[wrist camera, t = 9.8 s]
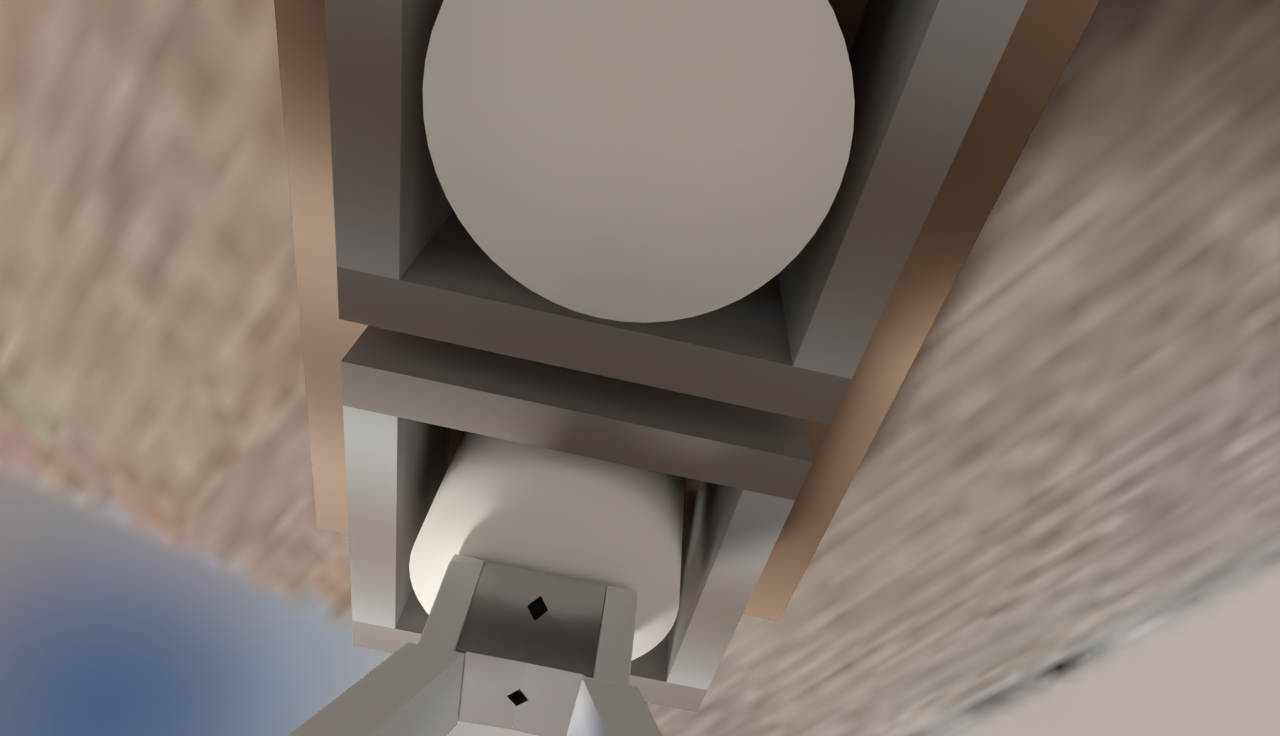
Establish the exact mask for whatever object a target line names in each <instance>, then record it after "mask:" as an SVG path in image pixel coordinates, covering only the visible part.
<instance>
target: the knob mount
mask: <svg viewBox="0 0 1280 736" xmlns="http://www.w3.org/2000/svg"><path fill="white" fill-rule="evenodd" d="M443 1H444V0H274V5H275V17H276V29H277V41H278V54H279V66H280V78H281V91H282V103H283V115H284V127H285V140H286V152H287V164H288V177H289V189H290V201H291V213H292V226H293V238H294V250H295V263H296V275H297V287H298V299H299V312H300V324H301V336H302V349H303V361H304V373H305V385H306V398H307V410H308V422H309V435H310V447H311V459H312V472H313V484H314V496H315V508H316V521H317V528H319V529H324V530H329V531H334V532H339V533H344V534H348V535H349V554H350V576H351V599H352V621H353V643H354V645H355V646H360V647H365V648H370V649H375V650H380V651H385V652H390V653H395V652H396V651H398V650H399V649H400V648H402V647H403V646H404V645H405V644H407V643H408V642H412V643H418V642H419V640H420V637H421V635H422V632H423V629H424V627H425V624H426V622H427V619H428V616H429V615H428V613H427V612H426V611H425V610H424V608H423V607H422V605H421V603H420V602H419V600H418V598H417V596H416V594H415V592H414V590H413V587H412V583H411V579H410V571H409V562H410V555H411V551H412V549H413V546H414V543H415V541H416V538H417V536H418V534H419V532H420V530H421V527H422V525H423V523H424V521H425V518H426V516H427V514H428V512H429V509H430V507H431V505H432V503H433V500H434V498H435V496H436V494H437V492H438V489H439V487H440V485H441V483H442V480H443V478H444V476H445V474H446V471H447V469H448V467H449V465H450V462H451V460H452V458H453V456H454V454H455V451H456V449H457V447H458V445H459V442H460V440H461V438H462V436H463V433H464V431H466V432H471V433H476V434H481V435H485V436H490V437H495V438H500V439H504V440H509V441H514V442H519V443H523V444H528V445H533V446H538V447H542V448H547V449H552V450H557V451H562V452H566V453H571V454H576V455H581V456H585V457H590V458H595V459H600V460H604V461H609V462H614V463H619V464H623V465H628V466H633V467H638V468H642V469H647V470H652V471H657V472H661V473H666V474H671V475H676V476H681V477H685V488H684V510H683V532H682V554H681V576H680V598H679V610H678V613H677V617H676V620H675V622H674V624H673V626H672V628H671V630H670V631H669V632H668V634H667V635H666V636H665V638H664V639H663V640H662V641H661V642H660V643H659V644H658V645H656V646H655V647H654V648H653V649H651V650H650V651H648V652H647V653H646V654H644V655H642V656H640V657H638V658H636V659H634V660H632V661H631V670H630V680H629V685H631V686H636V687H638V688H639V690H640V692H641V694H642V696H643V698H644V700H645V702H647V703H652V704H657V705H663V706H668V707H673V708H678V709H683V710H688V711H693V712H697V711H698V709H699V707H700V705H701V702H702V700H703V698H704V696H705V694H706V692H707V690H708V687H709V685H710V683H711V681H712V679H713V677H714V674H715V672H716V670H717V668H718V666H719V664H720V662H721V659H722V657H723V655H724V653H725V651H726V649H727V646H728V644H729V642H730V640H731V638H732V636H733V634H734V631H735V629H736V627H737V625H738V623H739V621H740V618H741V616H742V614H745V615H750V616H755V617H760V618H765V619H770V620H775V621H780V619H781V617H782V615H783V613H784V611H785V609H786V607H787V605H788V603H789V601H790V599H791V597H792V595H793V593H794V591H795V590H796V588H797V586H798V584H799V582H800V580H801V578H802V576H803V574H804V572H805V570H806V568H807V566H808V564H809V562H810V561H811V559H812V557H813V555H814V553H815V551H816V549H817V547H818V545H819V543H820V541H821V539H822V537H823V535H824V533H825V532H826V530H827V528H828V526H829V524H830V522H831V520H832V518H833V516H834V514H835V512H836V510H837V508H838V506H839V504H840V502H841V501H842V499H843V497H844V495H845V493H846V491H847V489H848V487H849V485H850V483H851V481H852V479H853V477H854V475H855V473H856V472H857V470H858V468H859V466H860V464H861V462H862V460H863V458H864V456H865V454H866V452H867V450H868V448H869V446H870V444H871V442H872V441H873V439H874V437H875V435H876V433H877V431H878V429H879V427H880V425H881V423H882V421H883V419H884V417H885V415H886V413H887V412H888V410H889V408H890V406H891V404H892V402H893V400H894V398H895V396H896V394H897V392H898V390H899V388H900V386H901V384H902V383H903V381H904V379H905V377H906V375H907V373H908V371H909V369H910V367H911V365H912V363H913V361H914V359H915V357H916V355H917V353H918V352H919V350H920V348H921V346H922V344H923V342H924V340H925V338H926V336H927V334H928V332H929V330H930V328H931V326H932V324H933V323H934V321H935V319H936V317H937V315H938V313H939V311H940V309H941V307H942V305H943V303H944V301H945V299H946V297H947V295H948V294H949V292H950V290H951V288H952V286H953V284H954V282H955V280H956V278H957V276H958V274H959V272H960V270H961V268H962V266H963V264H964V263H965V261H966V259H967V257H968V255H969V253H970V251H971V249H972V247H973V245H974V243H975V241H976V239H977V237H978V235H979V234H980V232H981V230H982V228H983V226H984V224H985V222H986V220H987V218H988V216H989V214H990V212H991V210H992V208H993V206H994V205H995V203H996V201H997V199H998V197H999V195H1000V193H1001V191H1002V189H1003V187H1004V185H1005V183H1006V181H1007V179H1008V177H1009V175H1010V174H1011V172H1012V170H1013V168H1014V166H1015V164H1016V162H1017V160H1018V158H1019V156H1020V154H1021V152H1022V150H1023V148H1024V146H1025V145H1026V143H1027V141H1028V139H1029V137H1030V135H1031V133H1032V131H1033V129H1034V127H1035V125H1036V123H1037V121H1038V119H1039V117H1040V116H1041V114H1042V112H1043V110H1044V108H1045V106H1046V104H1047V102H1048V100H1049V98H1050V96H1051V94H1052V92H1053V90H1054V88H1055V86H1056V85H1057V83H1058V81H1059V79H1060V77H1061V75H1062V73H1063V71H1064V69H1065V67H1066V65H1067V63H1068V61H1069V59H1070V57H1071V56H1072V54H1073V52H1074V50H1075V48H1076V46H1077V44H1078V42H1079V40H1080V38H1081V36H1082V34H1083V32H1084V30H1085V28H1086V26H1087V25H1088V23H1089V21H1090V19H1091V17H1092V15H1093V13H1094V11H1095V9H1096V7H1097V5H1098V3H1099V1H1100V0H828V2H829V3H830V5H831V7H832V9H833V11H834V13H835V16H836V19H837V21H838V24H839V26H840V29H841V32H842V34H843V37H844V40H845V43H846V48H847V52H848V56H849V61H850V65H851V69H852V78H853V89H854V100H855V104H854V130H853V136H852V142H851V148H850V154H849V159H848V163H847V166H846V169H845V172H844V176H843V179H842V182H841V185H840V188H839V190H838V192H837V194H836V197H835V199H834V201H833V203H832V205H831V208H830V210H829V212H828V213H827V215H826V217H825V218H824V220H823V222H822V223H821V225H820V226H819V228H818V230H817V231H816V233H815V234H814V236H813V237H812V238H811V239H810V241H809V242H808V243H807V244H806V246H805V247H804V248H803V249H802V251H801V252H800V253H799V254H798V255H797V256H796V257H795V258H794V259H793V260H792V261H791V262H790V263H789V264H788V265H787V266H786V267H785V268H784V269H783V270H782V271H781V272H780V273H778V274H777V275H776V276H775V277H773V278H772V279H771V280H769V281H768V282H767V283H765V284H764V285H763V286H761V287H760V288H758V289H757V290H755V291H753V292H752V293H750V294H748V295H746V296H745V297H743V298H741V299H740V300H738V301H735V302H733V303H731V304H729V305H726V306H724V307H722V308H719V309H717V310H714V311H711V312H708V313H704V314H701V315H698V316H694V317H690V318H684V319H679V320H673V321H664V322H649V323H642V322H622V321H615V320H609V319H603V318H598V317H594V316H590V315H587V314H583V313H580V312H576V311H573V310H571V309H568V308H566V307H563V306H561V305H558V304H556V303H553V302H551V301H550V300H548V299H546V298H544V297H542V296H540V295H538V294H537V293H535V292H533V291H531V290H530V289H528V288H527V287H525V286H524V285H522V284H521V283H519V282H518V281H517V280H515V279H514V278H512V277H511V276H510V275H509V274H507V273H506V272H505V271H504V270H503V269H502V268H500V267H499V266H498V265H497V264H496V263H495V262H494V261H492V260H491V259H490V257H489V256H488V255H487V254H486V253H485V252H484V251H483V250H482V249H481V248H480V247H479V245H478V244H477V243H476V242H475V241H474V240H473V238H472V237H471V236H470V234H469V233H468V231H467V230H466V229H465V227H464V226H463V225H462V223H461V222H460V221H459V219H458V217H457V215H456V214H455V212H454V210H453V208H452V207H451V205H450V203H449V201H448V199H447V198H446V196H445V193H444V191H443V188H442V186H441V184H440V181H439V179H438V177H437V174H436V172H435V168H434V165H433V161H432V158H431V154H430V151H429V147H428V143H427V136H426V130H425V124H424V118H423V78H424V68H425V59H426V55H427V50H428V46H429V41H430V37H431V33H432V29H433V27H434V24H435V21H436V19H437V16H438V14H439V11H440V8H441V6H442V3H443Z"/></svg>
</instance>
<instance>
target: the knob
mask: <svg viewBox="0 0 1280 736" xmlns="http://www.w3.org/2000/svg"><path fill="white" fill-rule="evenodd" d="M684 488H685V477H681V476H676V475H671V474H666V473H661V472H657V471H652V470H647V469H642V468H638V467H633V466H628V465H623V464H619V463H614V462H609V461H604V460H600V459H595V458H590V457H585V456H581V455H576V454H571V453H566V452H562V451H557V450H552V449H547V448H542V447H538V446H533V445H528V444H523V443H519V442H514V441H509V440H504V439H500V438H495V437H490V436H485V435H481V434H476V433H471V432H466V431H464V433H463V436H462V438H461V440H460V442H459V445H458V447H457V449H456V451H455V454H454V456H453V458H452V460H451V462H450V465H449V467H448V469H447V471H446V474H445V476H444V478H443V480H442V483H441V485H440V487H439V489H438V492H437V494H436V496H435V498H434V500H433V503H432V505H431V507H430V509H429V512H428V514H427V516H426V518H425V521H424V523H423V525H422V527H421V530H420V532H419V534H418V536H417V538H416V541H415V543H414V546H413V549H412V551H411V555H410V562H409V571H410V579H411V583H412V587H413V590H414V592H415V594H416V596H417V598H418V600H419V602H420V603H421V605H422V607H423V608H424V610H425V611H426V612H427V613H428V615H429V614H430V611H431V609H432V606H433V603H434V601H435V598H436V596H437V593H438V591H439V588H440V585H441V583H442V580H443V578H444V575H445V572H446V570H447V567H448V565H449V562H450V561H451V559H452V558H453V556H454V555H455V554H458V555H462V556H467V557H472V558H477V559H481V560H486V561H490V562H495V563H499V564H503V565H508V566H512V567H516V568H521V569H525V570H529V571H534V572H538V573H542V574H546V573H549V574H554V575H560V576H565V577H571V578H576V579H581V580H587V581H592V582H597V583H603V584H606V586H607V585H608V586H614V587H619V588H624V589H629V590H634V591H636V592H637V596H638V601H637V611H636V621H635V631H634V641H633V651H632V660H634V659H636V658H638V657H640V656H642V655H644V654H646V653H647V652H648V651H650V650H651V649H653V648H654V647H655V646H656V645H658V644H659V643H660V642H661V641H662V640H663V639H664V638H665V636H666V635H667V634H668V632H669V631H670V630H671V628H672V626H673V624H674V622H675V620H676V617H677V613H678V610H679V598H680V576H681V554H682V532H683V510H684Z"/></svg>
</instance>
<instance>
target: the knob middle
mask: <svg viewBox="0 0 1280 736" xmlns="http://www.w3.org/2000/svg"><path fill="white" fill-rule="evenodd" d="M854 104H855V100H854V89H853V78H852V69H851V65H850V61H849V56H848V52H847V48H846V43H845V40H844V37H843V34H842V32H841V29H840V26H839V24H838V21H837V19H836V16H835V13H834V11H833V9H832V7H831V5H830V3H829V2H828V0H444V1H443V3H442V6H441V8H440V11H439V14H438V16H437V19H436V21H435V24H434V27H433V29H432V33H431V37H430V41H429V46H428V50H427V55H426V59H425V68H424V78H423V118H424V124H425V130H426V136H427V143H428V147H429V151H430V154H431V158H432V161H433V165H434V168H435V172H436V174H437V177H438V179H439V181H440V184H441V186H442V188H443V191H444V193H445V196H446V198H447V199H448V201H449V203H450V205H451V207H452V208H453V210H454V212H455V214H456V215H457V217H458V219H459V221H460V222H461V223H462V225H463V226H464V227H465V229H466V230H467V231H468V233H469V234H470V236H471V237H472V238H473V240H474V241H475V242H476V243H477V244H478V245H479V247H480V248H481V249H482V250H483V251H484V252H485V253H486V254H487V255H488V256H489V257H490V259H491V260H492V261H494V262H495V263H496V264H497V265H498V266H499V267H500V268H502V269H503V270H504V271H505V272H506V273H507V274H509V275H510V276H511V277H512V278H514V279H515V280H517V281H518V282H519V283H521V284H522V285H524V286H525V287H527V288H528V289H530V290H531V291H533V292H535V293H537V294H538V295H540V296H542V297H544V298H546V299H548V300H550V301H551V302H553V303H556V304H558V305H561V306H563V307H566V308H568V309H571V310H573V311H576V312H580V313H583V314H587V315H590V316H594V317H598V318H603V319H609V320H615V321H622V322H642V323H649V322H664V321H673V320H679V319H684V318H690V317H694V316H698V315H701V314H704V313H708V312H711V311H714V310H717V309H719V308H722V307H724V306H726V305H729V304H731V303H733V302H735V301H738V300H740V299H741V298H743V297H745V296H746V295H748V294H750V293H752V292H753V291H755V290H757V289H758V288H760V287H761V286H763V285H764V284H765V283H767V282H768V281H769V280H771V279H772V278H773V277H775V276H776V275H777V274H778V273H780V272H781V271H782V270H783V269H784V268H785V267H786V266H787V265H788V264H789V263H790V262H791V261H792V260H793V259H794V258H795V257H796V256H797V255H798V254H799V253H800V252H801V251H802V249H803V248H804V247H805V246H806V244H807V243H808V242H809V241H810V239H811V238H812V237H813V236H814V234H815V233H816V231H817V230H818V228H819V226H820V225H821V223H822V222H823V220H824V218H825V217H826V215H827V213H828V212H829V210H830V208H831V205H832V203H833V201H834V199H835V197H836V194H837V192H838V190H839V188H840V185H841V182H842V179H843V176H844V172H845V169H846V166H847V163H848V159H849V154H850V148H851V142H852V136H853V130H854Z"/></svg>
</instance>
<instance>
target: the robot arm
mask: <svg viewBox="0 0 1280 736" xmlns="http://www.w3.org/2000/svg"><path fill="white" fill-rule="evenodd" d="M637 601H638V596H637V592H636V591H634V590H629V589H624V588H619V587H614V586H608V585H607V586H606V584H603V583H597V582H592V581H587V580H581V579H576V578H571V577H565V576H560V575H554V574H549V573H546V574H542V573H538V572H534V571H529V570H525V569H521V568H516V567H512V566H508V565H503V564H499V563H495V562H490V561H486V560H481V559H477V558H472V557H467V556H462V555H458V554H455V555H454V556H453V558H452V559H451V561H450V562H449V565H448V567H447V570H446V572H445V575H444V578H443V580H442V583H441V585H440V588H439V591H438V593H437V596H436V598H435V601H434V603H433V606H432V609H431V611H430V614H429V616H428V619H427V622H426V624H425V627H424V629H423V632H422V635H421V637H420V640H419V642H418V643H412V642H408V643H407V644H405V645H404V646H403V647H402V648H400V649H399V650H398V651H396V652H395V653H394V654H393V655H391V656H390V657H389V658H387V659H386V660H385V661H384V662H382V663H381V664H380V665H378V666H377V667H376V668H375V669H373V670H372V671H371V672H369V673H368V674H367V675H366V676H364V677H363V678H362V679H360V680H359V681H358V682H357V683H355V684H354V685H353V686H351V687H350V688H349V689H348V690H346V691H345V692H344V693H342V694H341V695H340V696H339V697H337V698H336V699H335V700H333V702H331V703H330V704H328V705H327V706H326V707H324V708H323V709H322V710H321V711H319V712H318V713H317V714H315V715H314V716H313V717H312V718H310V719H309V720H308V721H306V722H305V723H304V724H303V725H301V726H300V727H299V728H297V729H296V730H295V731H293V732H292V733H291V734H290V735H288V736H446V735H447V734H448V733H449V732H450V731H451V730H452V729H453V728H454V727H455V726H456V725H457V721H463V722H469V723H476V724H481V725H487V726H493V727H500V728H506V729H512V730H516V731H521V732H525V733H530V734H534V735H539V736H662V734H661V732H660V730H659V728H658V726H657V724H656V722H655V720H654V718H653V716H652V714H651V712H650V710H649V708H648V706H647V704H646V702H645V700H644V698H643V696H642V694H641V692H640V690H639V688H638V687H636V686H631V685H629V680H630V670H631V661H632V651H633V641H634V631H635V621H636V611H637ZM512 726H513V727H512Z"/></svg>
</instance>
